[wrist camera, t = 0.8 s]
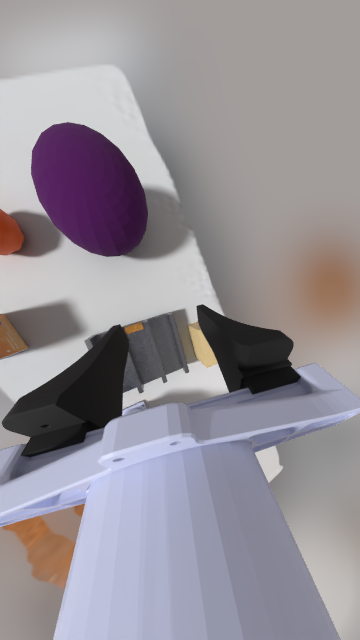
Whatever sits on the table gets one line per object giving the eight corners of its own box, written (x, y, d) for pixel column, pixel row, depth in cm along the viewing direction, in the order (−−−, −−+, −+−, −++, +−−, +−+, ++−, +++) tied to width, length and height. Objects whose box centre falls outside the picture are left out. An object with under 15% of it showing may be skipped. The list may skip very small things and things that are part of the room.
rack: (184, 365, 38) (189, 372, 34) (116, 393, 33) (113, 405, 29) (169, 312, 34) (172, 313, 31) (91, 335, 30) (84, 340, 26)
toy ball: (50, 211, 25) (-69, 93, 11) (116, 177, 27) (90, 43, 13) (105, 279, 29) (71, 257, 15) (159, 244, 32) (173, 197, 17)
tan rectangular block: (204, 353, 39) (217, 363, 33) (195, 356, 39) (207, 368, 32) (197, 321, 37) (209, 326, 31) (187, 325, 36) (197, 330, 30)
